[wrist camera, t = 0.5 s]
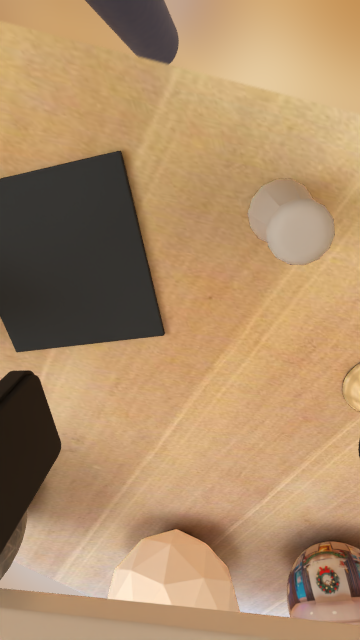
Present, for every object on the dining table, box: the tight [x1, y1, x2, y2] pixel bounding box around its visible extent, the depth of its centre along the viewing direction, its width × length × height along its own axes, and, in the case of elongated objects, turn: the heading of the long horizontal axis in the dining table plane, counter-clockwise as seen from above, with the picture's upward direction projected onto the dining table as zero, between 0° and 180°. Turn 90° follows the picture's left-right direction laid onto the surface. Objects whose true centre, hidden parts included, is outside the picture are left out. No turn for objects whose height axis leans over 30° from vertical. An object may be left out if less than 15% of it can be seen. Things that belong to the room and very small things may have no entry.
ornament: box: [287, 541, 360, 625], centre depth 47 cm, size 15×15×15 cm
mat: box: [0, 151, 165, 352], centre depth 39 cm, size 20×20×1 cm
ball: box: [107, 529, 240, 612], centre depth 50 cm, size 19×20×20 cm
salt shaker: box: [248, 179, 335, 265], centre depth 27 cm, size 6×6×13 cm
